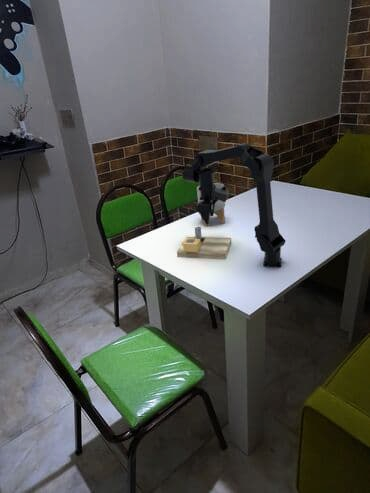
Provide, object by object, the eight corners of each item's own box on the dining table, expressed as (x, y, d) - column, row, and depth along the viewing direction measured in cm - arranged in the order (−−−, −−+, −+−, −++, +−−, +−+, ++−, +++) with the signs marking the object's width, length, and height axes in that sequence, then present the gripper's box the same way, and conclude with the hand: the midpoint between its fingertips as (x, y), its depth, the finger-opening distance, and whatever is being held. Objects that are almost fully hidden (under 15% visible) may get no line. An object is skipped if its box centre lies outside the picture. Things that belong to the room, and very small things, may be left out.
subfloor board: (225, 259, 135) (225, 253, 134) (177, 256, 141) (176, 251, 140) (231, 243, 147) (231, 237, 146) (186, 241, 153) (186, 236, 152)
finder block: (197, 252, 138) (197, 243, 136) (183, 251, 140) (182, 243, 138) (201, 246, 142) (200, 238, 140) (187, 245, 144) (186, 237, 142)
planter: (230, 218, 171) (229, 184, 163) (217, 228, 162) (214, 192, 155) (209, 215, 179) (206, 181, 171) (194, 224, 170) (191, 189, 162)
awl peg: (201, 246, 147) (200, 229, 144) (195, 246, 148) (194, 229, 144) (202, 243, 149) (201, 227, 146) (197, 243, 150) (195, 227, 147)
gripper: (222, 189, 126) (225, 228, 133) (230, 176, 142) (232, 211, 149) (193, 190, 129) (197, 228, 136) (204, 177, 145) (207, 212, 152)
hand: (209, 219), depth 143 cm, fingers open, 9 cm apart
